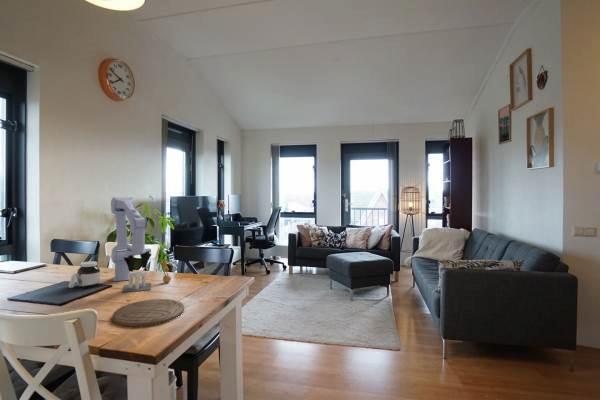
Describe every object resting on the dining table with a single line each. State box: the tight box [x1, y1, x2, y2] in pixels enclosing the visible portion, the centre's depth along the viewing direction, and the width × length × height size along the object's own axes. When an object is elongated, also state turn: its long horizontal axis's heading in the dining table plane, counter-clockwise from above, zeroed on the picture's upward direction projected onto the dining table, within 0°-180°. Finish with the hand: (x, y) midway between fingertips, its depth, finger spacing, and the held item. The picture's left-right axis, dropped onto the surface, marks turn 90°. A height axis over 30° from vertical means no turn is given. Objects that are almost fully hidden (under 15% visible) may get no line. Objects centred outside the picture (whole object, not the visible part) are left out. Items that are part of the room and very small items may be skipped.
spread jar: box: [68, 260, 101, 289], centre depth 154 cm, size 12×11×12 cm
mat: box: [121, 282, 152, 294], centre depth 154 cm, size 12×12×1 cm
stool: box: [128, 270, 147, 289], centre depth 154 cm, size 5×5×7 cm
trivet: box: [112, 298, 185, 328], centre depth 122 cm, size 25×25×2 cm
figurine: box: [157, 259, 173, 284], centre depth 165 cm, size 8×6×12 cm
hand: (137, 269), depth 154 cm, fingers open, 7 cm apart
